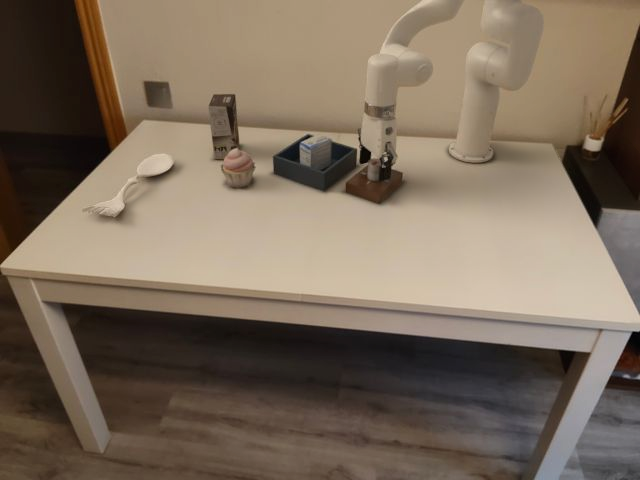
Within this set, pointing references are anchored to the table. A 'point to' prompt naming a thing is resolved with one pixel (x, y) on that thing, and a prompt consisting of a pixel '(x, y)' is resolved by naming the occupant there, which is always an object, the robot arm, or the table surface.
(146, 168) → the spoon
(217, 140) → the coffee box
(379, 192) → the panel
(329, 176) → the open box
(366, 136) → the robot arm
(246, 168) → the cupcake
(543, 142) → the table surface
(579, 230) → the table surface
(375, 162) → the tap knob
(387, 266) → the table surface
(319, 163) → the medicine box
